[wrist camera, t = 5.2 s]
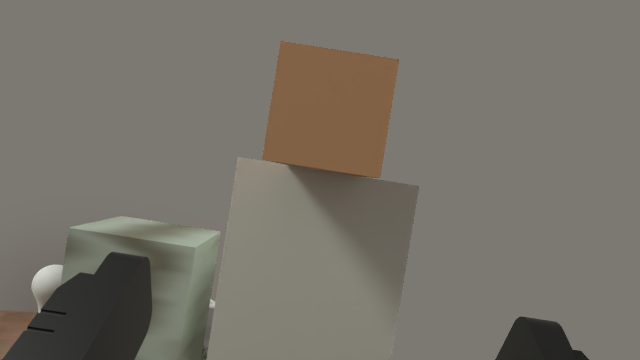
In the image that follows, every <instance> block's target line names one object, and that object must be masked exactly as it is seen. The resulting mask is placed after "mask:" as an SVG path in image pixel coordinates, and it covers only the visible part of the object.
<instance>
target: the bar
mask: <svg viewBox="0 0 640 360" xmlns="http://www.w3.org/2000/svg"><path fill="white" fill-rule="evenodd" d="M398 64H399V60H398V59H392V58H385V57H379V56H373V55H366V54H360V53H353V52H347V51H341V50H335V49H328V48H321V47H315V46H309V45H302V44H296V43H290V42H283V41H281V43H280V49H279V55H278V61H277V68H276V74H275V81H274V87H273V93H272V100H271V106H270V113H269V118H268V125H267V131H266V138H265V144H264V150H263V156H262V159H263V160H267V161H271V162H276V163H280V164H285V165H290V166H296V167H303V168H309V169H315V170H321V171H328V172H334V173H340V174H347V175H353V176H359V177H372V178H380V175H381V169H382V163H383V156H384V150H385V144H386V137H387V131H388V125H389V119H390V113H391V107H392V100H393V94H394V88H395V82H396V76H397V70H398Z"/></svg>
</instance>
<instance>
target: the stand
mask: <svg viewBox="0 0 640 360" xmlns="http://www.w3.org/2000/svg"><path fill="white" fill-rule="evenodd" d="M418 191H419V186H415V185H409V184H403V183H397V182H390V181H384V180H377V179H372V178H365V177H359V176H353V175H347V174H340V173H334V172H328V171H321V170H315V169H309V168H303V167H296V166H290V165H284V164H278V163H271V162H265V161H259V160H253V159H246V158H240V157H238V161H237V168H236V175H235V181H234V187H233V194H232V200H231V207H230V212H229V219H228V225H227V231H226V238H225V244H224V251H223V258H222V263H221V270H220V276H219V283H218V289H217V295H216V302H215V308H214V314H213V321H212V327H211V333H210V340H209V346H208V352H207V359H206V360H391V357H392V350H393V344H394V338H395V332H396V326H397V320H398V313H399V307H400V301H401V295H402V289H403V283H404V277H405V271H406V264H407V258H408V252H409V246H410V240H411V234H412V227H413V221H414V215H415V209H416V203H417V197H418Z"/></svg>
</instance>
